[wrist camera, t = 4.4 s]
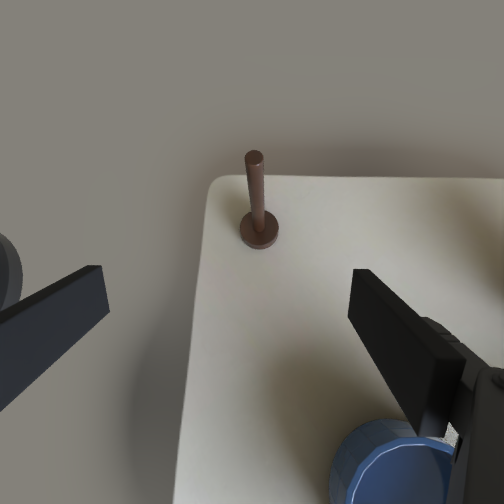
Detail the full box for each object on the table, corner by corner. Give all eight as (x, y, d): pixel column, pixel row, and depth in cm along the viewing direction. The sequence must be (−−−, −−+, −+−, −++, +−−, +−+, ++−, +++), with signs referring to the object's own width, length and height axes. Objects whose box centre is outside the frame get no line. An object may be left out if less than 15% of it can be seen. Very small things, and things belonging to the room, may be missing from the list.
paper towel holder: (241, 250, 33) (222, 187, 19) (240, 216, 34) (221, 133, 20) (279, 248, 33) (289, 183, 18) (276, 213, 34) (283, 128, 20)
